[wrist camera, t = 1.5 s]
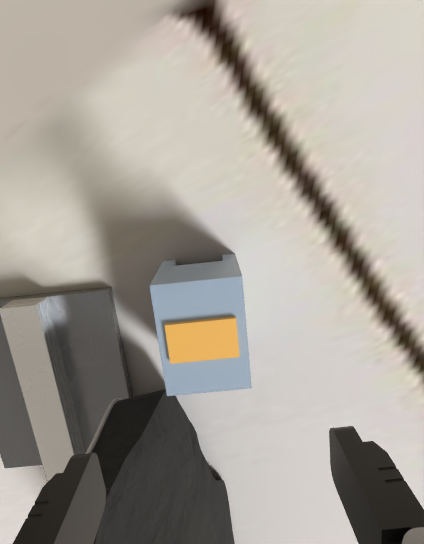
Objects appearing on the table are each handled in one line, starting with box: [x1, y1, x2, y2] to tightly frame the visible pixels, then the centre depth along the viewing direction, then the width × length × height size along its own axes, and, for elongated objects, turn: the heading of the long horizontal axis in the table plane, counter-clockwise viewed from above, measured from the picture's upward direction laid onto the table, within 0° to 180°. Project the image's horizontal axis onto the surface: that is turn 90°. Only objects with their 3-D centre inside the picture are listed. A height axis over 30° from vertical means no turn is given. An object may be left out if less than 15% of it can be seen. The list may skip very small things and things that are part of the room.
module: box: [149, 254, 252, 396], centre depth 23 cm, size 7×5×6 cm
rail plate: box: [0, 287, 132, 481], centre depth 26 cm, size 14×11×2 cm
